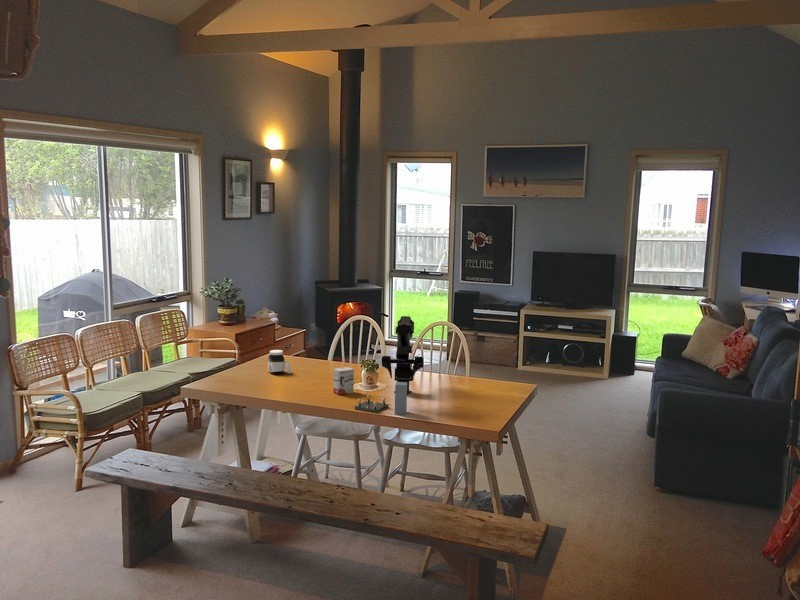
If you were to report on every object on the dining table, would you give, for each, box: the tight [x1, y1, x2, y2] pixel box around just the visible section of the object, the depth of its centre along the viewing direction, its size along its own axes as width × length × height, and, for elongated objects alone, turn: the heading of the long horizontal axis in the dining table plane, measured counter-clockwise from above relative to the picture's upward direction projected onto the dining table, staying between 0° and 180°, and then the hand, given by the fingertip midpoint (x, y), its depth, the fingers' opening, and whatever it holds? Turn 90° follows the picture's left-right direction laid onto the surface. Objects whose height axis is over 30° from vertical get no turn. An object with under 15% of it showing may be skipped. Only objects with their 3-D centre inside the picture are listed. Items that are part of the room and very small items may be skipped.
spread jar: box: [267, 349, 292, 375], centre depth 366 cm, size 12×11×12 cm
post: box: [394, 381, 408, 416], centre depth 301 cm, size 5×5×13 cm
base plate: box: [354, 394, 389, 414], centre depth 307 cm, size 11×11×4 cm
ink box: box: [333, 366, 355, 396], centre depth 330 cm, size 9×5×12 cm, turn 126°
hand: (401, 378), depth 308 cm, fingers open, 9 cm apart
